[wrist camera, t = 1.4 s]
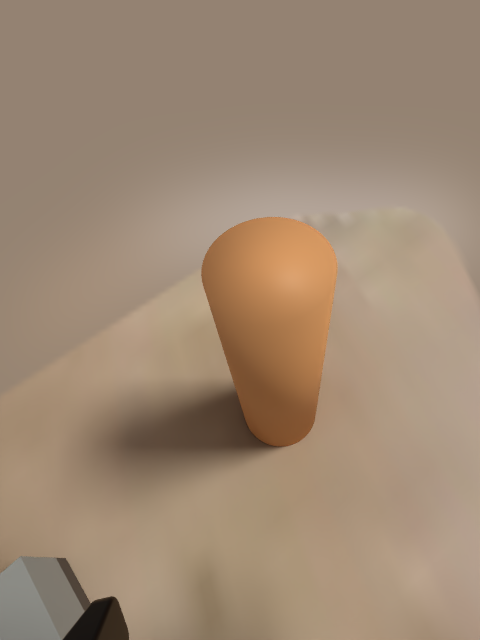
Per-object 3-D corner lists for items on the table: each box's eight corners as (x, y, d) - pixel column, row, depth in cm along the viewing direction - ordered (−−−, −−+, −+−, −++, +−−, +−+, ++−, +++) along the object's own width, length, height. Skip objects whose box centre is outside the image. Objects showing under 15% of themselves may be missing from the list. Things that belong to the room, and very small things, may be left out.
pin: (330, 411, 23) (366, 263, 12) (279, 462, 22) (266, 351, 11) (279, 365, 25) (269, 198, 14) (230, 409, 23) (175, 268, 12)
